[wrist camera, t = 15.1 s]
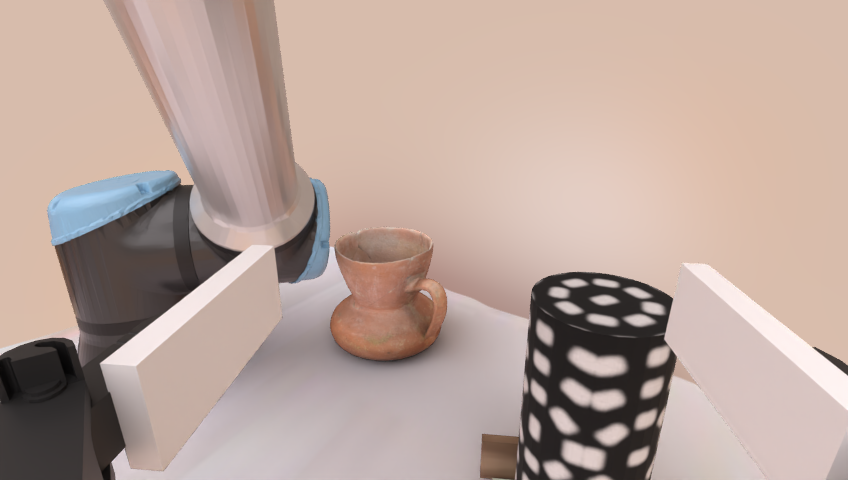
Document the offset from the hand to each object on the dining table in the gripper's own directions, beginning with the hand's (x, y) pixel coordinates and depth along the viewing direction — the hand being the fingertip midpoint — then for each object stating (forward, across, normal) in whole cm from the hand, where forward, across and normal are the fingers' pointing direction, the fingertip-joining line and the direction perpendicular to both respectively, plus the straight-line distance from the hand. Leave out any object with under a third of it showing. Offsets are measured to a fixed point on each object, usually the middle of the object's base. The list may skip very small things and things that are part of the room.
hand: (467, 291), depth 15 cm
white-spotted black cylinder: (+10, +8, -26) cm, 29 cm away
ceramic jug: (+37, -9, -27) cm, 47 cm away
